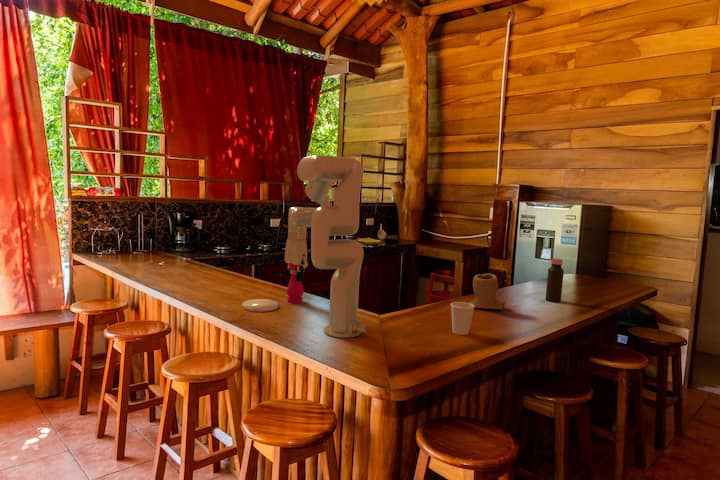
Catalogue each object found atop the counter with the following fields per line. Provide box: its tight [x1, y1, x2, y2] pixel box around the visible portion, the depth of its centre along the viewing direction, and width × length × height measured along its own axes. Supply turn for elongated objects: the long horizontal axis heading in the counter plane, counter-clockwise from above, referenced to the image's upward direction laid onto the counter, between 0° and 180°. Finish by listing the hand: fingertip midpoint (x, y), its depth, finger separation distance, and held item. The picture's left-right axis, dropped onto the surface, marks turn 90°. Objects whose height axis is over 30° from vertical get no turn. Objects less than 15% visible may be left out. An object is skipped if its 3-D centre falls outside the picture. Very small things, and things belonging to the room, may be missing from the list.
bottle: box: [545, 258, 565, 303], centre depth 225 cm, size 7×7×20 cm
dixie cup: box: [450, 301, 475, 336], centre depth 167 cm, size 8×8×10 cm
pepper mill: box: [286, 263, 305, 304], centre depth 199 cm, size 7×7×20 cm
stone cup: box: [468, 273, 506, 311], centre depth 203 cm, size 15×12×15 cm
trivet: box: [241, 298, 279, 313], centre depth 188 cm, size 14×14×2 cm
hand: (295, 279), depth 199 cm, fingers closed on pepper mill, 5 cm apart
